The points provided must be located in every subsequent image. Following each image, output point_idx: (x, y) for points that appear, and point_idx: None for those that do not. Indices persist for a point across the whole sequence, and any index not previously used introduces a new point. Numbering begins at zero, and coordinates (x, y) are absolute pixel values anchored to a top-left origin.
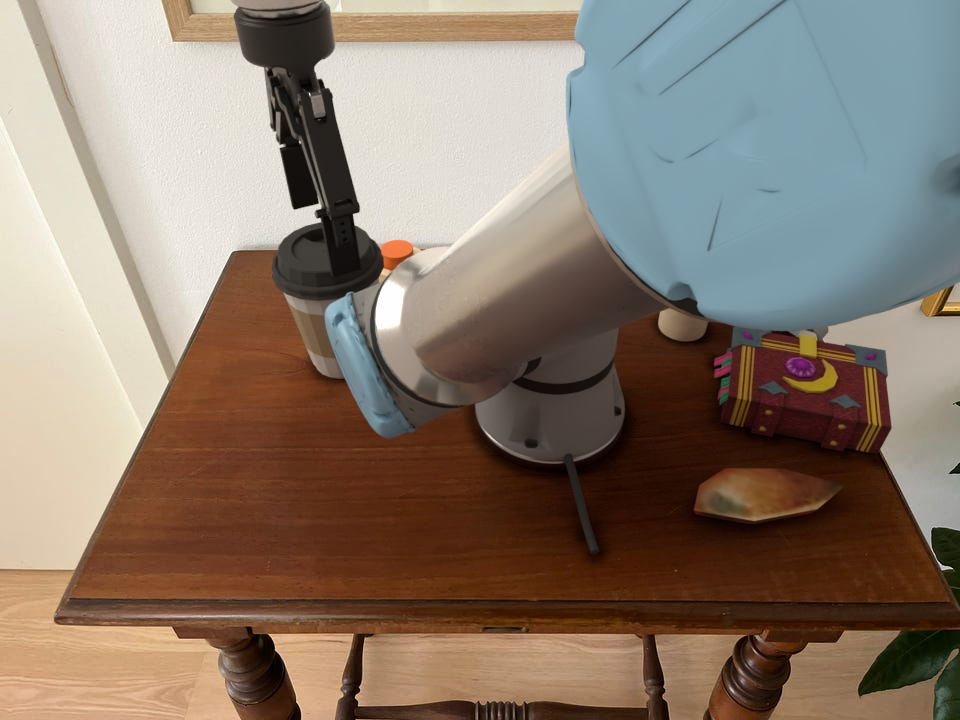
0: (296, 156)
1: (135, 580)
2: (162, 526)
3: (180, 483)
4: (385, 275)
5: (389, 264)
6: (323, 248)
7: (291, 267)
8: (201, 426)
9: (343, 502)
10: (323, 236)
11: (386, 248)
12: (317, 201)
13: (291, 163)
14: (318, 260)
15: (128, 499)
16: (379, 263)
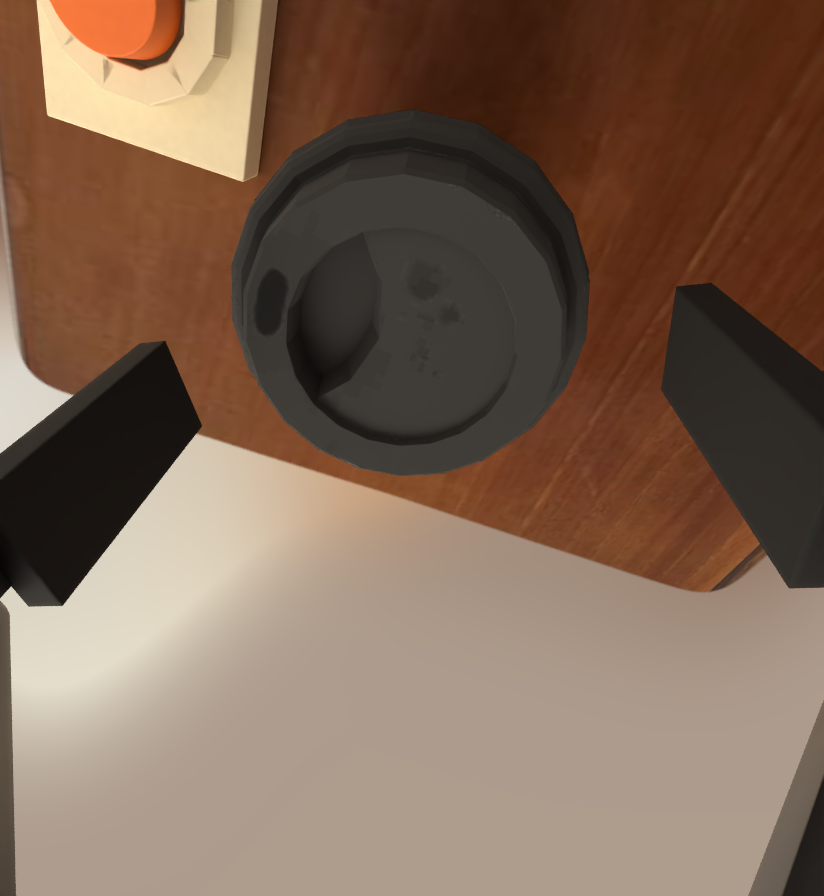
0: (56, 522)
1: (726, 551)
2: (664, 526)
3: (603, 506)
4: (207, 64)
5: (163, 36)
6: (405, 351)
7: (487, 456)
8: (506, 477)
9: (795, 310)
10: (297, 326)
11: (98, 28)
12: (162, 350)
13: (90, 525)
14: (472, 378)
15: (596, 553)
16: (502, 149)
